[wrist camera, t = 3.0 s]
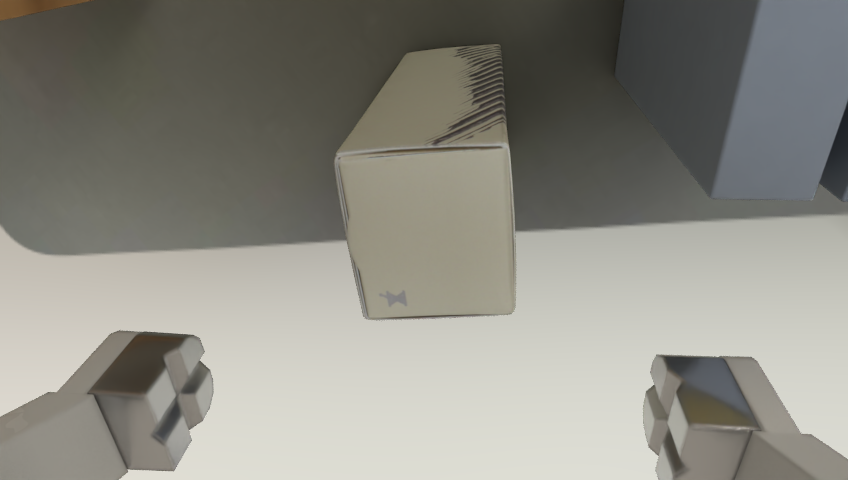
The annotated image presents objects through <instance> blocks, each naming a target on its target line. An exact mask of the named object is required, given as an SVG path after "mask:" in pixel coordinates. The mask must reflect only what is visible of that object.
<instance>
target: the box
mask: <svg viewBox="0 0 848 480" xmlns="http://www.w3.org/2000/svg"><path fill="white" fill-rule="evenodd" d="M334 170H335V175H336V182H337V190H338V195H339V200H340V206H341V211H342V216H343V223H344V228H345V234H346V239H347V244H348V249H349V252H350V257H351V262H352V267H353V272H354V277H355V281H356V286H357V290H358V295H359V298H360V303H361V308H362V313H363V316H364V317H365V318H366V319H369V320H401V319H435V318H456V317H475V316H495V315H508V314H512V313H513V312H514V310H515V301H516V243H515V217H514V198H513V183H512V171H511V159H510V149H509V143H508V135H507V123H506V106H505V89H504V74H503V61H502V51H501V47H500V45H498V44H493V45H478V46H463V47H450V48H440V49H432V50H424V51H417V52H410V53H407V54H405V56H404V57H403V58H402V60H401V61H400V63H399V64H398V66H397V67H396V69H395V70H394V72H393V73H392V75H391V76H390V77H389V79H388V80H387V82H386V83H385V85H384V86H383V87H382V89H381V90H380V92H379V93H378V95H377V96H376V97H375V99H374V100H373V102H372V103H371V105H370V106H369V107H368V109H367V110H366V112H365V113H364V115H363V116H362V118H361V119H360V120H359V122H358V123H357V125H356V126H355V128H354V129H353V130H352V132H351V133H350V135H349V136H348V137H347V139H346V140H345V141H344V143H343V144H342V145H341V147H340V148H339V149H338V151H337V152H336V154H335V157H334Z"/></svg>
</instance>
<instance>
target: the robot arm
mask: <svg viewBox="0 0 848 480" xmlns="http://www.w3.org/2000/svg"><path fill="white" fill-rule="evenodd" d="M204 352H205V351H204V349H203V346H202V343H201V340H200V338H198V337H196V336H194V335H187V334H172V333H157V332H134V331H117V332H114V333H111V334H110V335H109V336H108V337H107V338H106V339H105V340H104V341H103V343H102V344H101V345H100V346H99V347H98V348H97V349H96V350H95V351H94V352H93V353H92V354H91V356H90V357H89V358H88V359H87V360H86V361H85V362H84V363H83V364H82V365H81V367H80V368H79V369H78V370H77V371H76V372H75V373H74V374H73V375H72V376H71V377H70V378H69V380H68V381H67V382H66V383H65V384H64V385H63V386H62V387H61V388H60V389H59V390H58V392H48V393H46V394H44V395H42V396H40V397H38V398H36V399H34V400H32V401H30V402H28V403H26V404H24V405H23V406H21V407H19V408H17V409H15V410H13V411H11V412H9V413H7V414H5V415H3V416H1V417H0V480H119V479H120V478H121V477H122V476H123V475H125V474H126V473H127V472H128V470H127V469H131V470H156V471H174V470H175V469H176V467H177V465H178V463H179V461H180V460H181V458H182V456H183V454H184V453H185V451H186V449H187V448H188V446H189V444H190V443H191V441H192V440H191V435H190V431H189V430H190V429H191V428H193V427H194V426H196V425H197V424H198V423H200V422H202V421H203V419H204V418H205V416H206V414H207V412H208V410H209V408H210V405H211V401H212V397H213V378H212V375H211V372H210V370H209V369H208V368H207V367H206V366H205V365H204V364H203V363H202V362H201V361H200V359H201V357H202V355H203V354H204ZM650 373H651V376H652V379H653V382H654V385H653V386H652V387H651V388H650V389H649V390H648V391H646V394H645V400H644V405H643V424H644V430H645V435H646V439H647V442H648V446H649V448H650V449H651V450H652V451H654V452H655V453H656V454H657V455H658V456H659V457H658V461H657V466H656V473H657V477H658V480H848V459H847V458H845V457H844V456H842V455H841V454H839V453H838V452H836V451H835V450H833V449H832V448H831V447H829V446H828V445H826V444H825V443H823V442H822V441H820V440H819V439H817V438H816V437H814V436H813V435H811V434H801V433H800V431H799V429H798V428H797V426H796V424H795V423H794V421H793V419H792V418H791V416H790V414H789V413H788V411H787V410H786V408H785V406H784V405H783V403H782V401H781V400H780V398H779V397H778V395H777V393H776V391H775V390H774V388H773V387H772V385H771V383H770V382H769V380H768V379H767V377H766V375H765V373H764V372H763V370H762V368H761V367H760V365H759V364H758V362H757V361H756V360H755V359H753V358H752V357H728V356H720V357H710V356H682V355H656V357H655V358H654V360H653V363H652V367H651V371H650Z"/></svg>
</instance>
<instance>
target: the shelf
mask: <svg viewBox="0 0 848 480" xmlns="http://www.w3.org/2000/svg"><path fill="white" fill-rule="evenodd" d="M88 1H93V0H0V21H3V20H7V19H12V18H16V17H21V16H25V15H30V14H34V13H39V12H43V11H48V10H52V9H57V8H61V7H66V6H70V5H75V4H79V3H84V2H88Z"/></svg>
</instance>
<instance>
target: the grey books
mask: <svg viewBox="0 0 848 480" xmlns="http://www.w3.org/2000/svg"><path fill="white" fill-rule="evenodd" d="M614 76H615V78H616V79H617V80H618V82H619V83H620V84H621V85H622V87H623V88H624V89H625V90H626V92H627V93H628V94H629V96H630V97H631V98H632V99H633V101H634V102H635V103H636V104H637V106H638V107H639V108H640V110H641V111H642V112H643V113H644V115H645V116H646V117H647V118H648V120H649V121H650V122H651V124H652V125H653V126H654V127H655V129H656V130H657V131H658V133H659V134H660V135H661V136H662V138H663V139H664V140H665V141H666V143H667V144H668V145H669V147H670V148H671V149H672V150H673V152H674V153H675V154H676V155H677V157H678V158H679V159H680V161H681V162H682V163H683V164H684V166H685V167H686V168H687V169H688V171H689V172H690V173H691V175H692V176H693V177H694V178H695V180H696V181H697V182H698V184H699V185H700V186H701V187H702V189H703V190H704V191H705V192H706V194H707V195H708V196H709V198H711V199H737V200H812V199H813V198H814V196H815V193H816V190H817V187H818V185H819V183H820V184H821V185H822V186H823V187H825V188H826V189H827V190H828V191H830V192H831V193H832V194H833V195H834V196H836V197H837V198H838V199H839V200H841V201H843V202H848V0H625V1H624V9H623V16H622V23H621V30H620V38H619V45H618V52H617V60H616V67H615V74H614Z"/></svg>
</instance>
